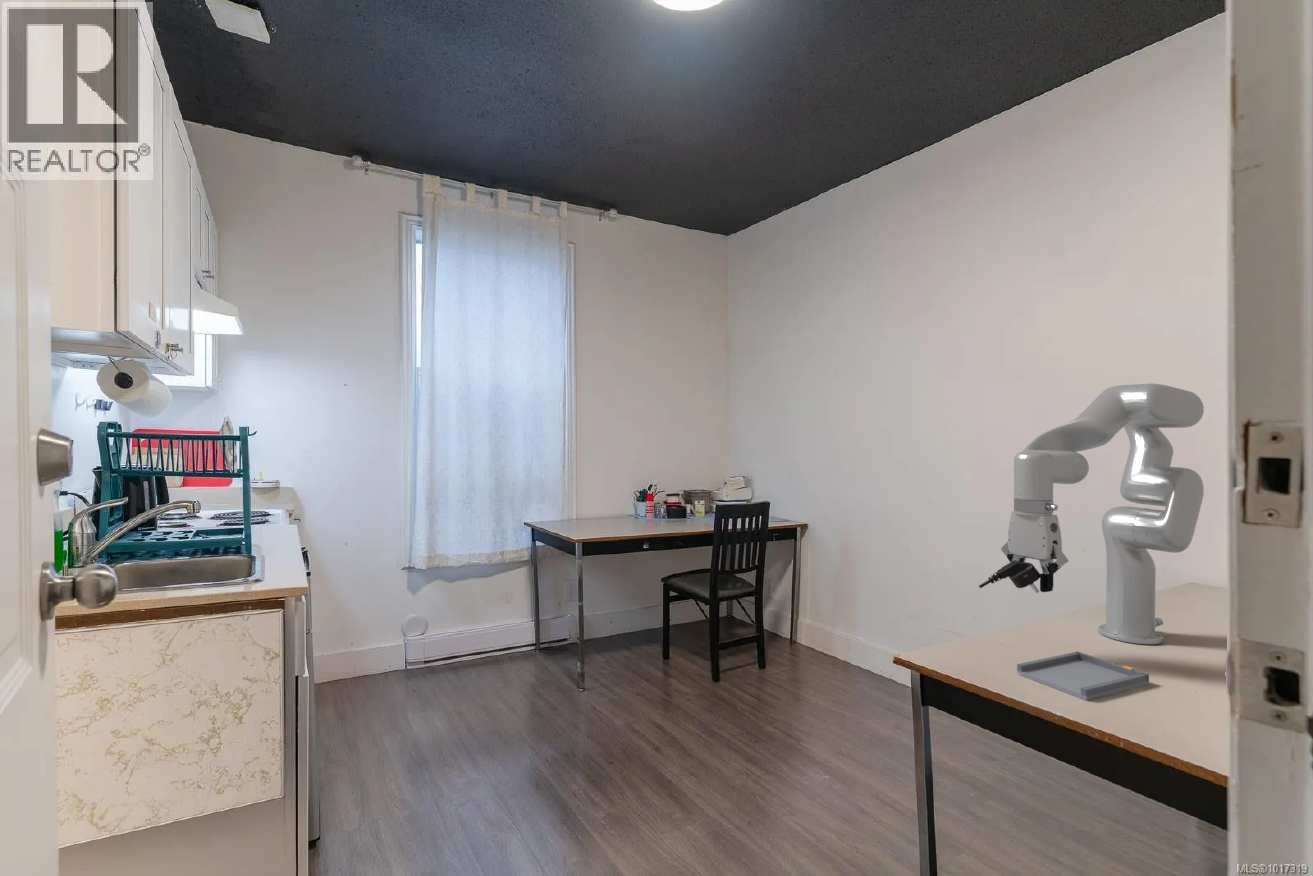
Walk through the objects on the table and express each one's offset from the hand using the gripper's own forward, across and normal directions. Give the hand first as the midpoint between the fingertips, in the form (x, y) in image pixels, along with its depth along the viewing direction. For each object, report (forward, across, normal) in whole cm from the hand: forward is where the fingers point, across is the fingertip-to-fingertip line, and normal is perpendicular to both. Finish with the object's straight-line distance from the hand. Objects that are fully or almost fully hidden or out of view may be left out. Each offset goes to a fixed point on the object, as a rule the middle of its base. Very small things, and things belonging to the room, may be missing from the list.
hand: (1033, 587), depth 140 cm
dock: (+15, -13, +4) cm, 20 cm away
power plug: (+1, +2, +5) cm, 5 cm away
